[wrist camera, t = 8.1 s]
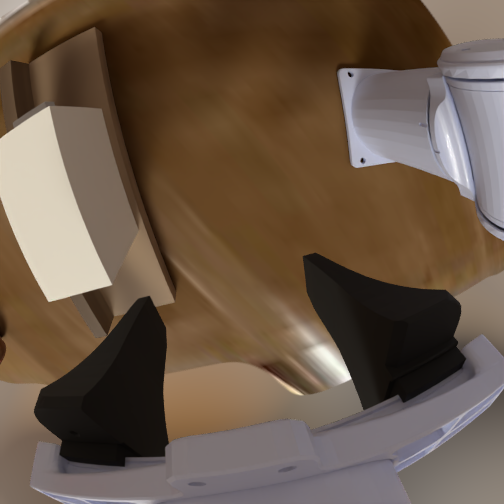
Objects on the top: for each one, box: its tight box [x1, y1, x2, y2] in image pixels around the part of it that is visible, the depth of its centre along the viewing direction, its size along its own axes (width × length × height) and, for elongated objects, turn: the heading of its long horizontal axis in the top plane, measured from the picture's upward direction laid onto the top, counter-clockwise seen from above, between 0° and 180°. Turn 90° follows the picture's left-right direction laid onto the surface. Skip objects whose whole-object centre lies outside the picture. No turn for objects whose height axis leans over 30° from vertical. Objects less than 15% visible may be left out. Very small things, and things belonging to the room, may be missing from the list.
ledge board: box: [0, 27, 176, 338], centre depth 16 cm, size 7×22×4 cm, turn 12°
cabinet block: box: [0, 101, 139, 302], centre depth 13 cm, size 4×10×7 cm, turn 12°
